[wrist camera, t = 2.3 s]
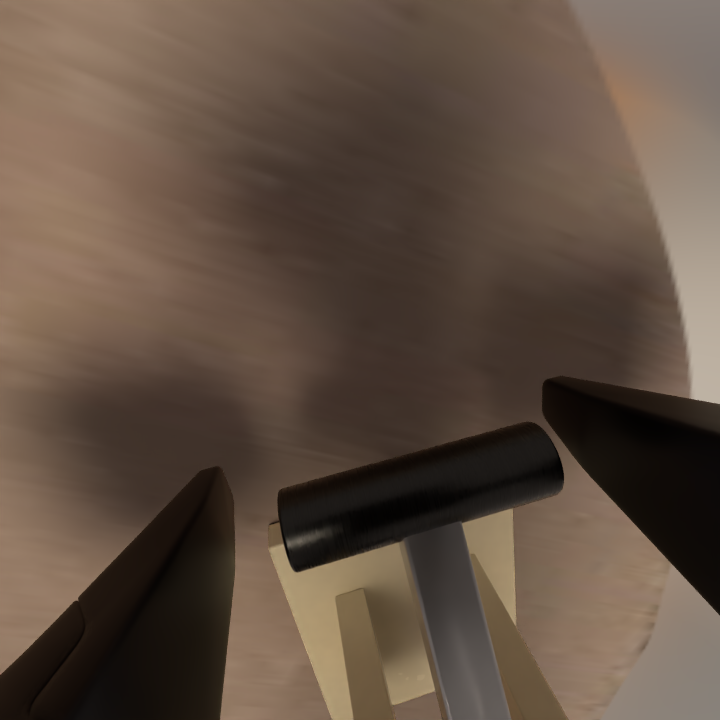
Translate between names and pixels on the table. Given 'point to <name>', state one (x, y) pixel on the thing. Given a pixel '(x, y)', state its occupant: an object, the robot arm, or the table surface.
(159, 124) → the table surface
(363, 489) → the lever
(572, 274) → the table surface
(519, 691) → the bracket
